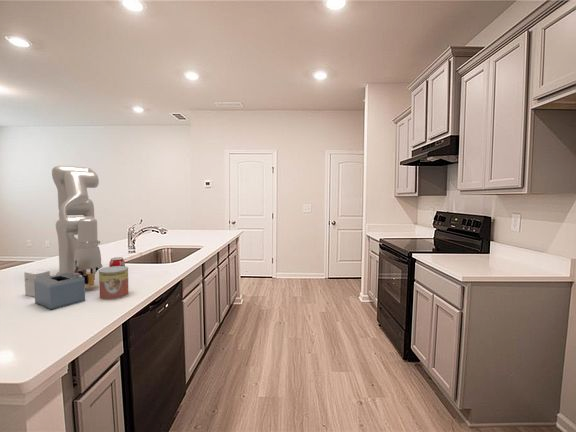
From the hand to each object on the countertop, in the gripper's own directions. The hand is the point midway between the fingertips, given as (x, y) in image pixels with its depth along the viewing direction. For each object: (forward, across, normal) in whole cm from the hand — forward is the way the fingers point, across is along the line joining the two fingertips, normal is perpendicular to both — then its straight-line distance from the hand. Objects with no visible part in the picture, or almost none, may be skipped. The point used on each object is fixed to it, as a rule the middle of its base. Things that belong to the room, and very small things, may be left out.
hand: (88, 282), depth 135 cm
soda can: (+4, -15, -2) cm, 15 cm away
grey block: (+3, +14, +7) cm, 16 cm away
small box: (+4, +15, -11) cm, 19 cm away
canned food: (+3, -2, +18) cm, 18 cm away
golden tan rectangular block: (+1, 0, 0) cm, 2 cm away
